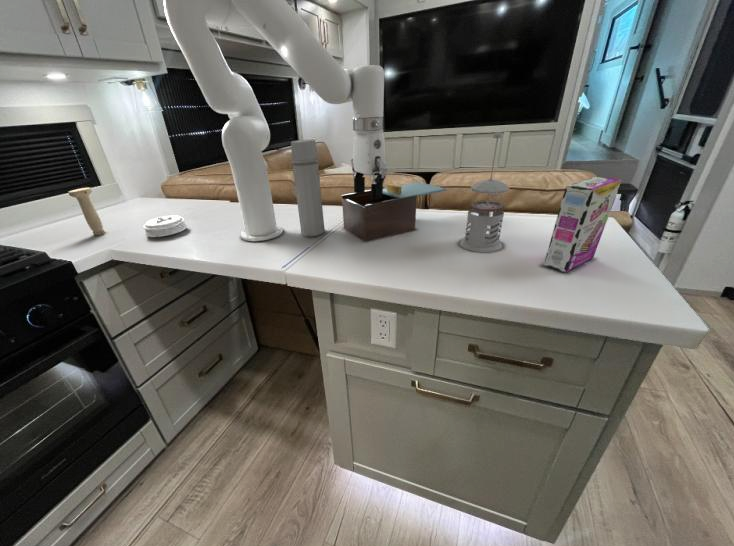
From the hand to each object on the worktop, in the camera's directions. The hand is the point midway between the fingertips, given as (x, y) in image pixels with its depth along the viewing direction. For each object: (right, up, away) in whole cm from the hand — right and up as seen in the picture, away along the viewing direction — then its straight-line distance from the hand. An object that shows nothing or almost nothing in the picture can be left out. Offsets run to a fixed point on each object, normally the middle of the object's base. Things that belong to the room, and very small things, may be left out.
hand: (367, 195), depth 91 cm
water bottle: (-15, -9, +8) cm, 19 cm away
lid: (-65, -7, +18) cm, 68 cm away
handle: (-91, -6, +23) cm, 94 cm away
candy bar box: (+41, -21, -22) cm, 51 cm away
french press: (+28, -15, -9) cm, 33 cm away
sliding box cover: (+13, +3, +5) cm, 14 cm away
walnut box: (+4, -8, +6) cm, 11 cm away
